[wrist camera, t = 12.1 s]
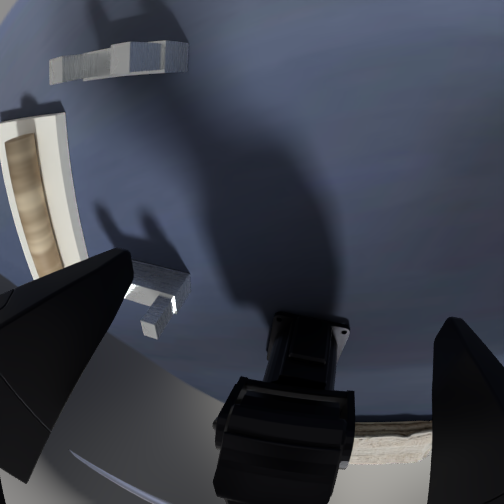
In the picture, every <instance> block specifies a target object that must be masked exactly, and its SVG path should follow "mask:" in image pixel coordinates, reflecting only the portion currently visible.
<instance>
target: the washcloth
mask: <svg viewBox="0 0 504 504" xmlns="http://www.w3.org/2000/svg"><path fill="white" fill-rule="evenodd" d="M431 449H432V421H428V422H427V421H408V422H357V423H356V422H355V437H354V444H353V449H352V454H351V457H350V461H349V463H348V464H355V465H356V464H360V465H363V464H368V465H369V464H374V465H375V464H394V463H395V464H396V463H397V464H398V463H415V462H419V461H421V460H422V459H424V458H426V457H428V454H429V452H430V450H431Z"/></svg>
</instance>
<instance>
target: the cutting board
mask: <svg viewBox="0 0 504 504" xmlns="http://www.w3.org/2000/svg"><path fill="white" fill-rule="evenodd" d="M30 133H34V137H35V145H36V152H37V159H38V165H39V171H40V177H41V182H42V188H43V193H44V198H45V202H46V207H47V211H48V215H49V220H50V224H51V228H52V232H53V235H54V239H55V243H56V246H57V250H58V253H59V257H60V260H61V263H62V266H63V268H65V267H67V266H70V265H72V264H75V263H78V262H80V261H83V260H85V259H88V254H87V250H86V245H85V241H84V237H83V232H82V228H81V223H80V218H79V213H78V208H77V203H76V197H75V191H74V185H73V179H72V172H71V165H70V157H69V149H68V139H67V129H66V116H65V112H62V113H54V114H46V115H39V116H32V117H25V118H19V119H14V120H8V121H3V122H1V123H0V161H1V166H2V171H3V176H4V181H5V186H6V190H7V195H8V199H9V203H10V207H11V211H12V215H13V218H14V222H15V225H16V229H17V232H18V235H19V239H20V242H21V245H22V248H23V251H24V254H25V257H26V260H27V263H28V265H29V268H30V271H31V274H32V276H33V279H34V280H36V279H38V278H39V276H38V273H37V271H36V268H35V265H34V262H33V259H32V256H31V253H30V250H29V247H28V244H27V241H26V238H25V234H24V231H23V227H22V224H21V220H20V217H19V213H18V209H17V205H16V201H15V197H14V192H13V188H12V183H11V178H10V173H9V168H8V162H7V157H6V150H5V144H4V143H5V142H6V141H8V140H10V139H12V138H15V137H18V136H21V135H25V134H30Z"/></svg>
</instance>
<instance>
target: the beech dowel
mask: <svg viewBox="0 0 504 504" xmlns="http://www.w3.org/2000/svg"><path fill="white" fill-rule="evenodd" d="M4 144H5V150H6V157H7V162H8V168H9V173H10V178H11V183H12V188H13V192H14V197H15V201H16V205H17V209H18V213H19V217H20V220H21V224H22V227H23V231H24V234H25V238H26V241H27V244H28V247H29V250H30V253H31V256H32V259H33V262H34V265H35V268H36V271H37V273H38V276H39V278H40V277H43V276H45V275H48V274H50V273H53V272H55V271H58V270H60V269H62V268H63V266H62V263H61V260H60V257H59V253H58V250H57V246H56V243H55V239H54V235H53V232H52V228H51V224H50V220H49V215H48V211H47V207H46V202H45V198H44V193H43V188H42V182H41V177H40V171H39V165H38V159H37V152H36V145H35V137H34V133H30V134H25V135H21V136H18V137H15V138H12V139H10V140H8V141H6V142H5V143H4Z"/></svg>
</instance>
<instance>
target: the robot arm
mask: <svg viewBox="0 0 504 504" xmlns="http://www.w3.org/2000/svg"><path fill="white" fill-rule="evenodd" d="M133 279H134V270H133V265H132V259H131V254H130V252H129V251H128V250H126V249H122V248H114V249H111V250H109V251H106V252H103V253H101V254H98V255H95V256H93V257H90V258H88V259H85V260H83V261H80V262H78V263H75V264H72V265H70V266H67V267H65V268H62V269H60V270H58V271H55V272H53V273H50V274H48V275H45V276H43V277H40V278H38V279H36V280H33V281H31V282H29V283H26V284H24V285H22V286H19V287H17V288H15V289H12V290H10V291H8V292H5V293H3V294H1V295H0V468H1V469H3V470H4V471H6V472H7V473H9V474H11V475H12V476H14V477H15V478H17V479H19V480H20V481H22V482H24V483H25V484H27V482H28V481H29V479H30V476H31V474H32V472H33V469H34V467H35V465H36V463H37V461H38V458H39V456H40V454H41V452H42V450H43V448H44V446H45V444H46V441H47V440H48V438H49V435H50V433H51V432H50V431H52V429H53V427H54V425H55V423H56V421H57V419H58V417H59V415H60V413H61V411H62V409H63V407H64V406H65V404H66V402H67V400H68V398H69V396H70V394H71V393H72V391H73V389H74V387H75V385H76V383H77V382H78V380H79V378H80V376H81V374H82V373H83V371H84V369H85V367H86V366H87V364H88V362H89V360H90V359H91V357H92V355H93V353H94V352H95V350H96V348H97V347H98V345H99V343H100V342H101V340H102V338H103V337H104V335H105V333H106V332H107V330H108V329H109V327H110V325H111V323H112V322H113V320H114V318H115V316H116V314H117V312H118V310H119V308H120V306H121V304H122V302H123V299H124V297H125V295H126V293H127V291H128V290H129V288H130V286H131V284H132V282H133ZM278 317H280V318H278ZM343 330H345V331H343ZM349 334H350V327H349V326H347V325H344V324H338V323H333V322H328V321H323V320H318V319H313V318H308V317H303V316H298V315H293V314H288V313H283V312H277V313H275V315H274V319H273V325H272V330H271V336H270V342H269V348H268V354H267V360H268V365H267V368H266V372H265V375H264V379H263V381H258V380H252V379H248V378H247V377H242V376H241V377H240V379H239V381H238V383H237V384H235V386H234V388H233V389H232V391H231V393H230V395H229V397H228V399H227V400H226V402H225V404H224V406H223V408H222V410H221V411H220V413H219V415H218V417H217V418H216V419H215V420H214V422H213V429H214V430H215V432H216V436H215V446H216V449H217V450H220V454H219V459H218V465H217V469H216V472H215V476H214V479H213V485H214V488H215V492H216V495H217V497H220V498H224V499H225V501H226V504H327V503H328V502H329V499H330V497H331V495H332V493H333V489H334V485H335V481H336V477H337V473H338V469H346V468H347V466H348V463H349V461H350V457H351V454H352V449H353V444H354V437H355V398H354V391H348V390H347V391H335V390H334V384H335V374H336V364H337V362H338V359H339V357H340V355H341V353H342V350H343V348H344V346H345V343H346V341H347V339H348V336H349ZM431 456H432V457H431V471H430V483H429V493H428V502H427V504H504V367H503V366H502V364H501V363H500V362H499V361H498V360H497V358H496V357H495V356H494V355H493V354H492V352H491V351H490V350H489V349H488V348H487V346H486V345H485V344H484V343H483V342H482V341H481V339H480V338H479V337H478V336H477V335H476V334H475V333H474V331H473V330H472V329H471V328H470V327H469V326H468V325H467V324H466V323H465V321H464V320H463V319H461V318H456V317H449V318H447V320H446V321H445V323H444V324H443V326H442V328H441V329H440V331H439V333H438V334H437V336H436V338H435V341H434V355H433V381H432V455H431ZM0 504H6V503H5V499H4V494H3V489H2V485H1V479H0Z"/></svg>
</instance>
